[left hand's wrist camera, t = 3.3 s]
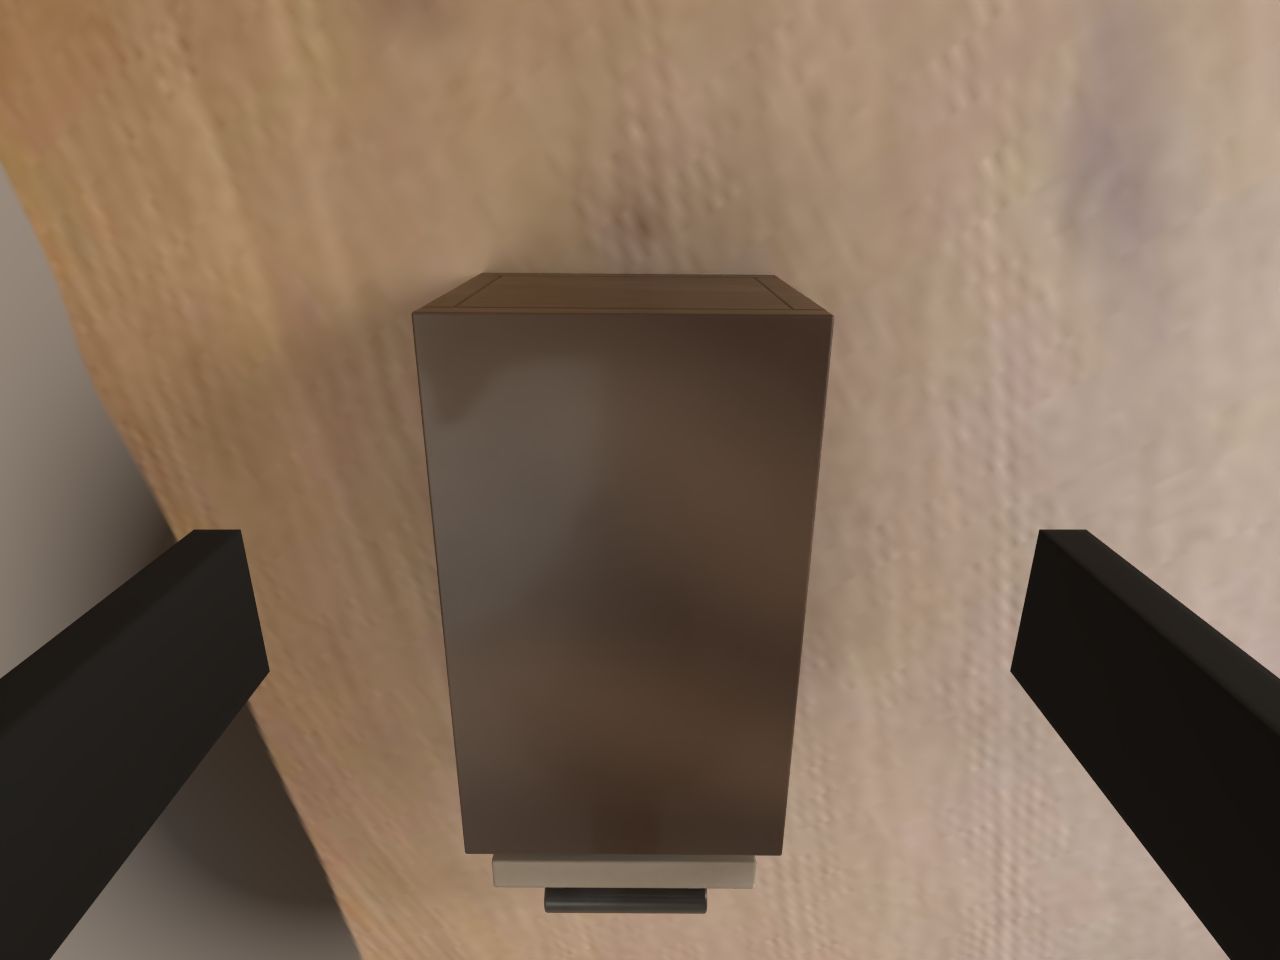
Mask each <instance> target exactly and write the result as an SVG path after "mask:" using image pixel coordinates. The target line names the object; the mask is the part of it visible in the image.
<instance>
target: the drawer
mask: <svg viewBox="0 0 1280 960" xmlns="http://www.w3.org/2000/svg"><path fill="white" fill-rule="evenodd" d="M492 869H493V881H494V886H495V887H545V895H544V908H545V912H547V913H686V914H704V913H706V911H707V888H741V889H752V888H754V886H755V874H756V858H755V855H605V854H493V859H492Z"/></svg>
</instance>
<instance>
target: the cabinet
mask: <svg viewBox="0 0 1280 960" xmlns="http://www.w3.org/2000/svg"><path fill="white" fill-rule="evenodd" d="M412 323H413V333H414V343H415V353H416V363H417V373H418V383H419V393H420V403H421V414H422V424H423V434H424V444H425V454H426V464H427V474H428V484H429V494H430V504H431V514H432V524H433V534H434V544H435V554H436V564H437V574H438V584H439V594H440V604H441V614H442V624H443V634H444V645H445V655H446V665H447V675H448V685H449V695H450V705H451V715H452V725H453V735H454V745H455V755H456V765H457V775H458V785H459V795H460V805H461V815H462V825H463V835H464V845H465V853H467V854H605V855H774V856H780V855H781V854H782V847H783V837H784V827H785V816H786V806H787V796H788V786H789V775H790V765H791V755H792V745H793V734H794V724H795V714H796V704H797V693H798V683H799V673H800V663H801V652H802V642H803V632H804V622H805V611H806V601H807V591H808V581H809V570H810V560H811V550H812V540H813V529H814V519H815V509H816V499H817V488H818V478H819V468H820V458H821V447H822V437H823V427H824V417H825V406H826V396H827V386H828V376H829V365H830V355H831V345H832V334H833V324H834V316H833V315H832V314H830V313H829V312H828V311H826V310H825V309H823V308H822V307H821V306H819V305H818V304H816V303H815V302H813V301H812V300H810V299H809V298H807V297H806V296H804V295H803V294H801V293H800V292H798V291H797V290H796V289H794V288H793V287H791V286H790V285H788V284H787V283H785V282H784V281H782V280H781V279H779V278H778V277H776V276H775V275H672V274H534V273H482V274H480V275H478V276H477V277H475V278H473V279H471V280H469V281H468V282H466V283H464V284H462V285H461V286H459V287H457V288H455V289H453V290H452V291H450V292H448V293H446V294H445V295H443V296H441V297H439V298H437V299H436V300H434V301H432V302H430V303H429V304H427V305H425V306H423V307H422V308H419V309H418V310H416V311H414V312H412Z"/></svg>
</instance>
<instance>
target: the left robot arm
mask: <svg viewBox="0 0 1280 960" xmlns="http://www.w3.org/2000/svg"><path fill="white" fill-rule="evenodd" d="M269 672H270V670H269V665H268V661H267V656H266V651H265V646H264V641H263V636H262V631H261V627H260V622H259V617H258V612H257V607H256V602H255V597H254V593H253V588H252V583H251V578H250V573H249V568H248V563H247V558H246V554H245V549H244V544H243V539H242V534H241V530H193V531H192V532H190V533H189V534H188V535H186V536H185V537H184V538H182V539H181V540H180V541H179V542H177V543H176V544H175V545H173V546H172V547H171V548H170V549H168V550H167V551H166V552H164V553H163V554H162V555H160V556H159V557H158V558H157V559H155V560H154V561H153V562H151V563H150V564H149V565H147V566H146V567H145V568H144V569H142V570H141V571H140V572H138V573H137V574H136V575H134V576H133V577H132V578H131V579H129V580H128V581H127V582H125V583H124V584H123V585H121V586H120V587H119V588H118V589H116V590H115V591H114V592H112V593H111V594H110V595H108V596H107V597H106V598H105V599H103V600H102V601H101V602H99V603H98V604H97V605H96V606H94V607H93V608H92V609H90V610H89V611H88V612H86V613H85V614H84V615H83V616H81V617H80V618H79V619H77V620H76V621H75V622H73V623H72V624H71V625H70V626H68V627H67V628H66V629H64V630H63V631H62V632H60V633H59V634H58V635H57V636H55V637H54V638H53V639H51V640H50V641H49V642H47V643H46V644H45V645H44V646H42V647H41V648H40V649H38V650H37V651H36V652H35V653H33V654H32V655H31V656H29V657H28V658H27V659H25V660H24V661H23V662H21V663H20V664H19V665H18V666H16V667H15V668H14V669H12V670H11V671H10V672H9V673H7V674H6V675H5V676H3V677H2V678H1V679H0V960H50V958H51V957H52V956H53V954H54V953H55V952H56V951H57V949H58V948H59V947H60V945H61V944H62V943H63V941H64V940H65V939H66V937H67V936H68V935H69V934H70V932H71V931H72V930H73V928H74V927H75V926H76V924H77V923H78V922H79V920H80V919H81V918H82V916H83V915H84V914H85V912H86V911H87V910H88V909H89V907H90V906H91V905H92V903H93V902H94V901H95V899H96V898H97V897H98V896H99V894H100V893H101V892H102V890H103V889H104V888H105V886H106V885H107V884H108V882H109V881H110V880H111V879H112V877H113V876H114V875H115V873H116V872H117V871H118V869H119V868H120V867H121V865H122V864H123V863H124V861H125V860H126V859H127V858H128V856H129V855H130V854H131V852H132V851H133V850H134V848H135V847H136V846H137V844H138V843H139V842H140V840H141V839H142V838H143V836H144V835H145V834H146V833H147V831H148V830H149V829H150V827H151V826H152V825H153V824H154V822H155V821H156V820H157V818H158V817H159V816H160V814H161V813H162V812H163V810H164V809H165V808H166V806H167V805H168V804H169V803H170V801H171V800H172V799H173V797H174V796H175V795H176V793H177V792H178V791H179V789H180V788H181V787H182V785H183V784H184V783H185V782H186V780H187V779H188V778H189V776H190V775H191V774H192V772H193V771H194V770H195V768H196V767H197V766H198V764H199V763H200V762H201V761H202V759H203V758H204V757H205V755H206V754H207V753H208V751H209V750H210V749H211V748H212V746H213V745H214V744H215V742H216V741H217V740H218V738H219V737H220V736H221V734H222V733H223V732H224V730H225V729H226V728H227V727H228V725H229V724H230V723H231V721H232V720H233V719H234V717H235V716H236V715H237V713H238V712H239V711H240V710H241V708H242V707H243V706H244V704H245V703H246V702H247V700H248V699H249V698H250V696H251V695H252V694H253V692H254V691H255V690H256V689H257V687H258V686H259V685H260V683H261V682H262V681H263V679H264V678H265V677H266V675H267V674H268V673H269ZM1010 672H1011V673H1012V674H1013V675H1014V677H1015V678H1016V679H1017V681H1018V682H1019V683H1020V685H1021V686H1022V687H1023V689H1024V690H1025V691H1026V692H1027V694H1028V695H1029V696H1030V698H1031V699H1032V700H1033V702H1034V703H1035V704H1036V706H1037V707H1038V708H1039V710H1040V711H1041V712H1042V713H1043V715H1044V716H1045V717H1046V719H1047V720H1048V721H1049V723H1050V724H1051V725H1052V727H1053V728H1054V729H1055V730H1056V732H1057V733H1058V734H1059V736H1060V737H1061V738H1062V740H1063V741H1064V742H1065V744H1066V745H1067V746H1068V748H1069V749H1070V750H1071V751H1072V753H1073V754H1074V755H1075V757H1076V758H1077V759H1078V761H1079V762H1080V763H1081V765H1082V766H1083V767H1084V768H1085V770H1086V771H1087V772H1088V774H1089V775H1090V776H1091V778H1092V779H1093V780H1094V782H1095V783H1096V784H1097V786H1098V787H1099V788H1100V789H1101V791H1102V792H1103V793H1104V795H1105V796H1106V797H1107V799H1108V800H1109V801H1110V803H1111V804H1112V805H1113V806H1114V808H1115V809H1116V810H1117V812H1118V813H1119V814H1120V816H1121V817H1122V818H1123V820H1124V821H1125V822H1126V824H1127V825H1128V826H1129V827H1130V829H1131V830H1132V831H1133V833H1134V834H1135V835H1136V837H1137V838H1138V839H1139V841H1140V842H1141V843H1142V844H1143V846H1144V847H1145V848H1146V850H1147V851H1148V852H1149V854H1150V855H1151V856H1152V858H1153V859H1154V860H1155V862H1156V863H1157V864H1158V865H1159V867H1160V868H1161V869H1162V871H1163V872H1164V873H1165V875H1166V876H1167V877H1168V879H1169V880H1170V881H1171V882H1172V884H1173V885H1174V886H1175V888H1176V889H1177V890H1178V892H1179V893H1180V894H1181V896H1182V897H1183V898H1184V899H1185V901H1186V902H1187V903H1188V905H1189V906H1190V907H1191V909H1192V910H1193V911H1194V913H1195V914H1196V915H1197V917H1198V918H1199V919H1200V920H1201V922H1202V923H1203V924H1204V926H1205V927H1206V928H1207V930H1208V931H1209V932H1210V934H1211V935H1212V936H1213V937H1214V939H1215V940H1216V941H1217V943H1218V944H1219V945H1220V947H1221V948H1222V949H1223V951H1224V952H1225V953H1226V955H1227V956H1228V957H1229V958H1230V960H1280V679H1279V678H1278V677H1277V676H1275V675H1274V674H1273V673H1271V672H1270V671H1269V670H1268V669H1266V668H1265V667H1264V666H1262V665H1261V664H1260V663H1259V662H1257V661H1256V660H1255V659H1253V658H1252V657H1251V656H1249V655H1248V654H1247V653H1246V652H1244V651H1243V650H1242V649H1240V648H1239V647H1238V646H1236V645H1235V644H1234V643H1233V642H1231V641H1230V640H1229V639H1227V638H1226V637H1225V636H1223V635H1222V634H1221V633H1220V632H1218V631H1217V630H1216V629H1214V628H1213V627H1212V626H1210V625H1209V624H1208V623H1207V622H1205V621H1204V620H1203V619H1201V618H1200V617H1199V616H1197V615H1196V614H1195V613H1194V612H1192V611H1191V610H1190V609H1188V608H1187V607H1186V606H1184V605H1183V604H1182V603H1181V602H1179V601H1178V600H1177V599H1175V598H1174V597H1173V596H1172V595H1170V594H1169V593H1168V592H1166V591H1165V590H1164V589H1162V588H1161V587H1160V586H1159V585H1157V584H1156V583H1155V582H1153V581H1152V580H1151V579H1149V578H1148V577H1147V576H1146V575H1144V574H1143V573H1142V572H1140V571H1139V570H1138V569H1136V568H1135V567H1134V566H1133V565H1131V564H1130V563H1129V562H1127V561H1126V560H1125V559H1123V558H1122V557H1121V556H1120V555H1118V554H1117V553H1116V552H1114V551H1113V550H1112V549H1110V548H1109V547H1108V546H1107V545H1105V544H1104V543H1103V542H1101V541H1100V540H1099V539H1098V538H1096V537H1095V536H1094V535H1092V534H1091V533H1090V532H1088V531H1087V530H1039V534H1038V539H1037V544H1036V549H1035V554H1034V558H1033V563H1032V568H1031V573H1030V578H1029V583H1028V588H1027V592H1026V597H1025V602H1024V607H1023V612H1022V617H1021V622H1020V627H1019V631H1018V636H1017V641H1016V646H1015V651H1014V656H1013V661H1012V665H1011V670H1010Z"/></svg>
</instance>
